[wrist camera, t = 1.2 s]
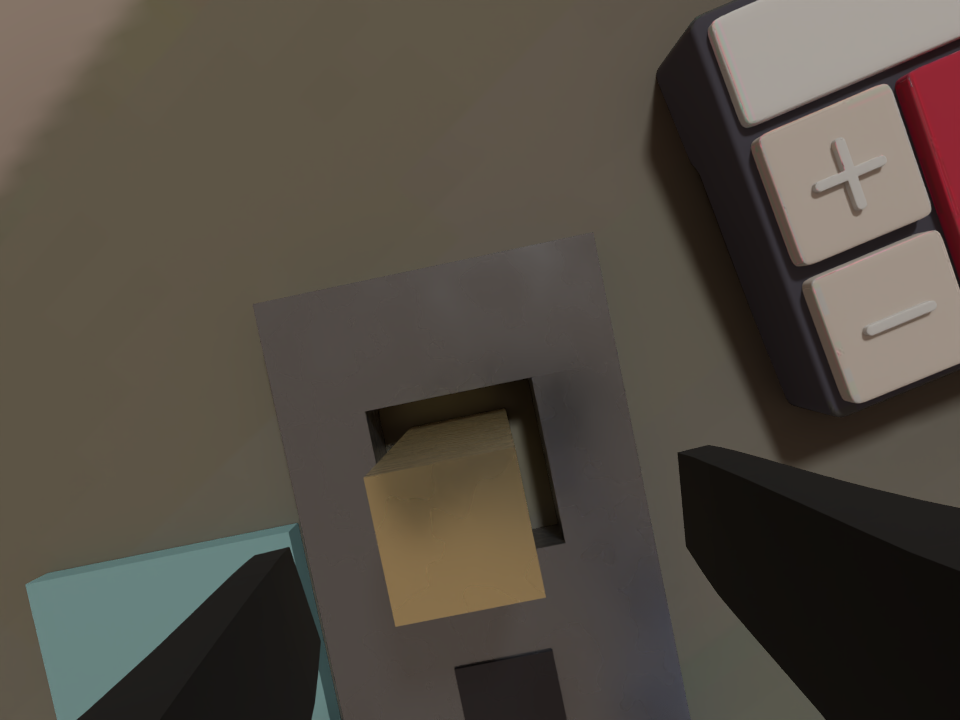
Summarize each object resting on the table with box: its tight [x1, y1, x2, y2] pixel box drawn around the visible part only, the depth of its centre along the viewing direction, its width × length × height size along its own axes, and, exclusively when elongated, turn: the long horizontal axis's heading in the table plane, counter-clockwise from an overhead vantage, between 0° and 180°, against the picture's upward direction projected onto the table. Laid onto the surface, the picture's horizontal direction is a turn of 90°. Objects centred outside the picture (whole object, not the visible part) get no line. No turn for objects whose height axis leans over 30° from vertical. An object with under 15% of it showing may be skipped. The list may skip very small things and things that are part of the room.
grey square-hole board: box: [253, 232, 690, 720], centre depth 20 cm, size 22×13×2 cm, turn 12°
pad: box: [26, 523, 341, 720], centre depth 21 cm, size 12×11×1 cm
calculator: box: [656, 0, 960, 417], centre depth 19 cm, size 11×4×15 cm
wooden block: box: [364, 408, 546, 627], centre depth 17 cm, size 4×4×8 cm
